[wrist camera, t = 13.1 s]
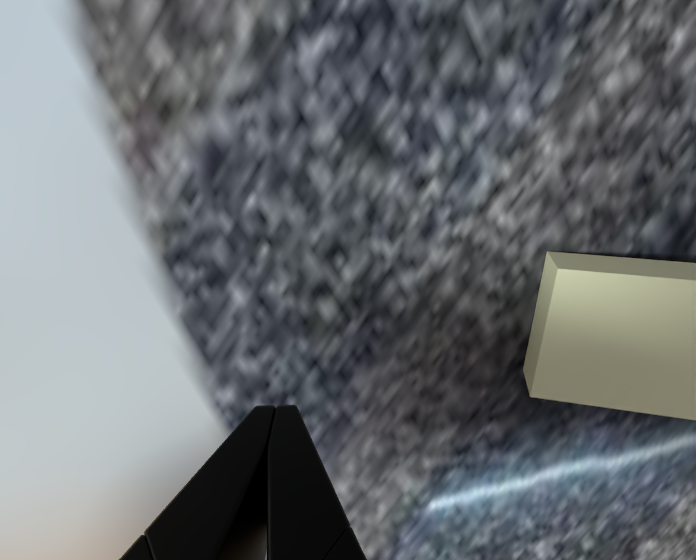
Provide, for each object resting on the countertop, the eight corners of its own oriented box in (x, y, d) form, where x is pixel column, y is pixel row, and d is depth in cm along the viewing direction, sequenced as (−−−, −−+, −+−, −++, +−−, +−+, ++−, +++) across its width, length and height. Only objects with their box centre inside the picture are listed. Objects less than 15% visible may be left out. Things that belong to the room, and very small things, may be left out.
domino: (522, 370, 14) (799, 405, 12) (529, 396, 13) (838, 440, 11) (546, 251, 12) (866, 276, 11) (557, 268, 11) (920, 299, 10)
